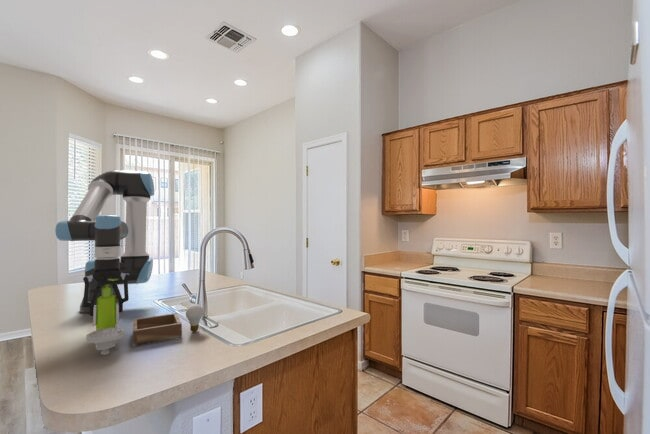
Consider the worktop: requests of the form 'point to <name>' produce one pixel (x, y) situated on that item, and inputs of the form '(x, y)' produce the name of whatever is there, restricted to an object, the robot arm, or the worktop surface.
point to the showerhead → (105, 338)
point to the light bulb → (194, 316)
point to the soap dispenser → (106, 307)
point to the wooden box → (156, 329)
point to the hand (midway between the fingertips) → (106, 322)
